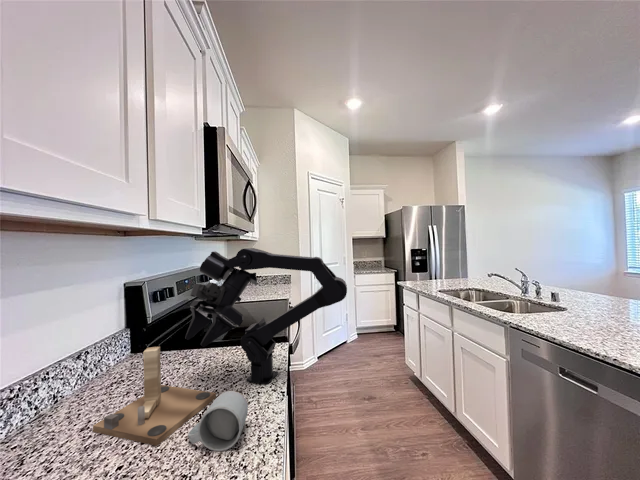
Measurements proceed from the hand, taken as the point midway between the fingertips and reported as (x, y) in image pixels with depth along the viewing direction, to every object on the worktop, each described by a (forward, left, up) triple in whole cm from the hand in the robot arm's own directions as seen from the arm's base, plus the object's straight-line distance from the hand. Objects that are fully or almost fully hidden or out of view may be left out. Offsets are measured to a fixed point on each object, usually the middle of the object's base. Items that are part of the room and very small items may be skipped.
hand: (193, 342), depth 70 cm
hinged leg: (+9, -4, -11) cm, 15 cm away
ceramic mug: (+11, +15, -13) cm, 23 cm away
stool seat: (+8, -3, -13) cm, 15 cm away
